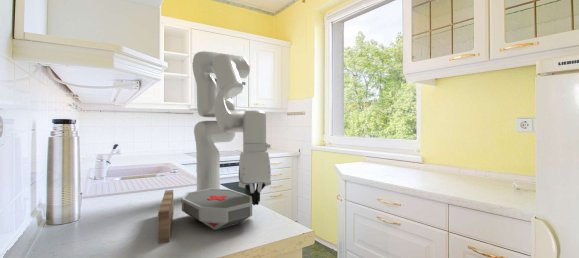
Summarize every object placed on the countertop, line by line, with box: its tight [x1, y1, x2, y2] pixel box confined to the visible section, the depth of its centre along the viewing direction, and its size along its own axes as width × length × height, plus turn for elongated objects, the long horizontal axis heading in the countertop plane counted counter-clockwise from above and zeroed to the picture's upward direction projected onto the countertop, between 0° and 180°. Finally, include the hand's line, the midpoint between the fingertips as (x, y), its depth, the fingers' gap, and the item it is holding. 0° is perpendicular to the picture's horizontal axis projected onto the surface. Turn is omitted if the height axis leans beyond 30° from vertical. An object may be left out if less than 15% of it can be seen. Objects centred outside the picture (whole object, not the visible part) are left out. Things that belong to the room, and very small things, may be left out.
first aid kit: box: [181, 188, 253, 231], centre depth 91 cm, size 18×8×25 cm
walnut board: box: [157, 189, 174, 244], centre depth 87 cm, size 25×2×8 cm, turn 19°
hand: (255, 203), depth 96 cm, fingers closed
